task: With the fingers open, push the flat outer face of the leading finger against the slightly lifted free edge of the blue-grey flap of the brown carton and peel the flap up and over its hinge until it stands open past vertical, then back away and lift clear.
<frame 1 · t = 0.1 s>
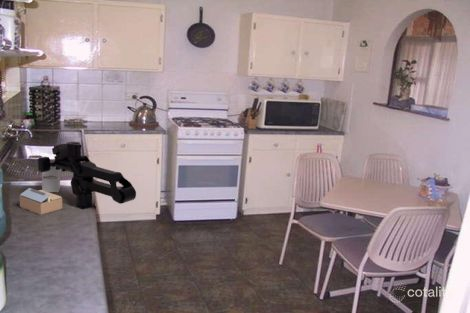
hand: (46, 158, 200), 17 cm above the table, tool horizontal, fingers open, 9 cm apart
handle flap: (34, 194, 180), point 7 cm above the table, hinge at 25.0°
carton: (41, 208, 184), on the table
supplement box: (51, 190, 208), on the table
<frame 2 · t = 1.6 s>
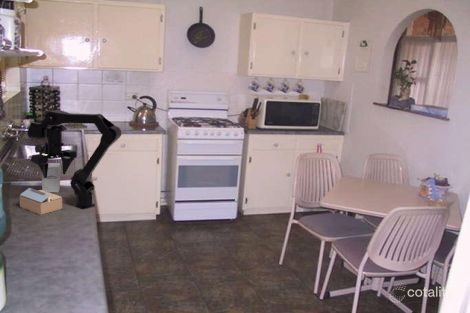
hand: (54, 175, 189), 12 cm above the table, tool pointing down, fingers open, 9 cm apart
nothing on the table moved.
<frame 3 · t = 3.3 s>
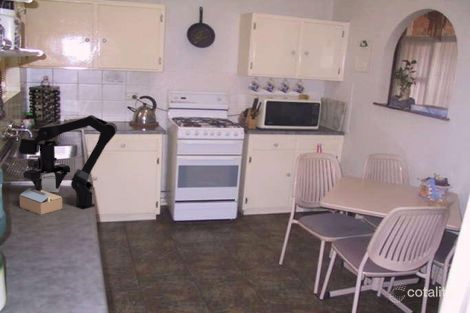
hand: (48, 191, 187), 6 cm above the table, tool pointing down, fingers open, 8 cm apart
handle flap: (34, 194, 180), point 7 cm above the table, hinge at 24.9°, touching gripper
everything else where it was.
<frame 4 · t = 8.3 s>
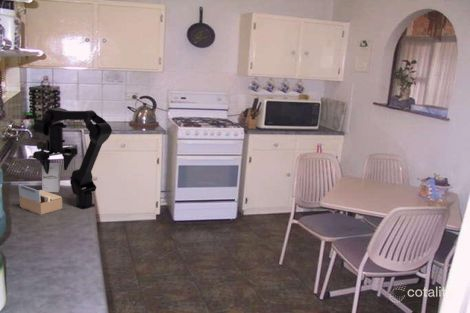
hand: (56, 171, 194), 12 cm above the table, tool pointing down, fingers open, 9 cm apart
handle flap: (28, 193, 178), point 8 cm above the table, hinge at 93.8°
everything else where it was.
at the end: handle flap at +94° (first picture: +25°); supplement box inside the target area (0.0 cm from its centre), on the table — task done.
